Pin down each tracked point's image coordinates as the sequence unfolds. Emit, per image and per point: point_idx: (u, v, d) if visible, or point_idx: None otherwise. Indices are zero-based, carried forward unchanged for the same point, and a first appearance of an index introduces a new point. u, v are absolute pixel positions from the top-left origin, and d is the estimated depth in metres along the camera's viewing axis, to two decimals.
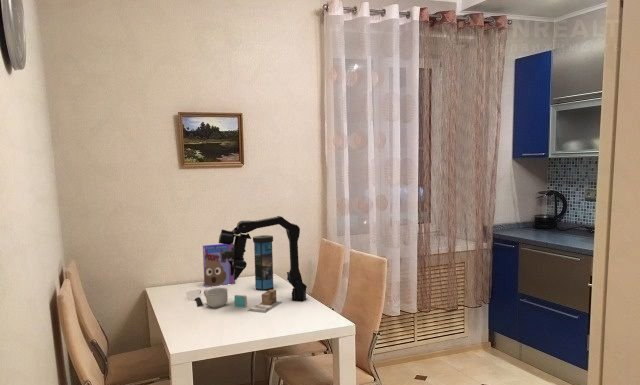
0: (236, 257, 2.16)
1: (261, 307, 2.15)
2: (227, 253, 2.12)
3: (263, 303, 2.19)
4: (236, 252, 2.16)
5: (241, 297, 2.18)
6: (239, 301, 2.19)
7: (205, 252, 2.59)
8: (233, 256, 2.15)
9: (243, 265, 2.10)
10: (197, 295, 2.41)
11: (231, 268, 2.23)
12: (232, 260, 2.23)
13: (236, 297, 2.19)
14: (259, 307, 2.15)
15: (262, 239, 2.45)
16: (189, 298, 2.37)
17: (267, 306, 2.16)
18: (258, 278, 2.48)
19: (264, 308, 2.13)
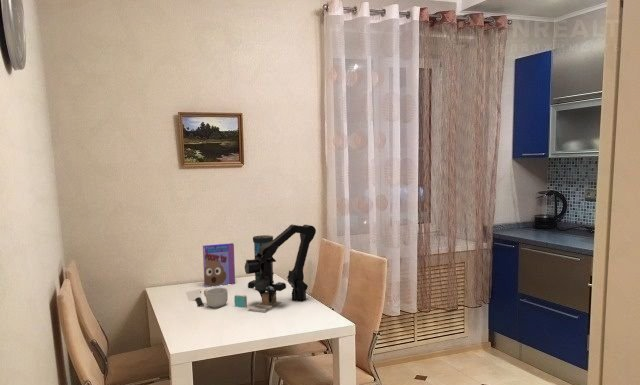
0: (270, 282, 2.18)
1: (261, 307, 2.15)
2: (268, 282, 2.13)
3: (263, 303, 2.19)
4: (269, 278, 2.18)
5: (241, 297, 2.18)
6: (239, 301, 2.19)
7: (205, 252, 2.59)
8: None
9: (285, 286, 2.18)
10: (197, 295, 2.41)
11: None
12: None
13: (236, 297, 2.19)
14: (259, 307, 2.15)
15: (262, 239, 2.45)
16: (189, 298, 2.37)
17: (267, 306, 2.16)
18: (258, 278, 2.48)
19: (264, 308, 2.13)
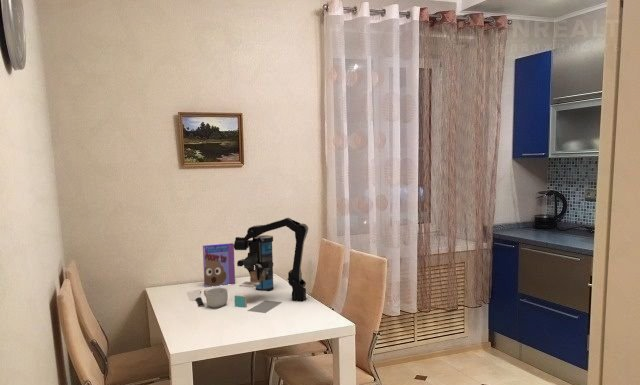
0: (258, 260, 2.30)
1: (250, 283, 2.27)
2: (256, 259, 2.25)
3: (251, 280, 2.30)
4: (257, 256, 2.30)
5: (241, 297, 2.18)
6: (239, 301, 2.19)
7: (205, 252, 2.59)
8: None
9: (272, 264, 2.30)
10: (197, 295, 2.41)
11: None
12: None
13: (236, 297, 2.19)
14: (248, 283, 2.27)
15: None
16: (190, 298, 2.37)
17: (255, 283, 2.28)
18: None
19: (252, 284, 2.25)
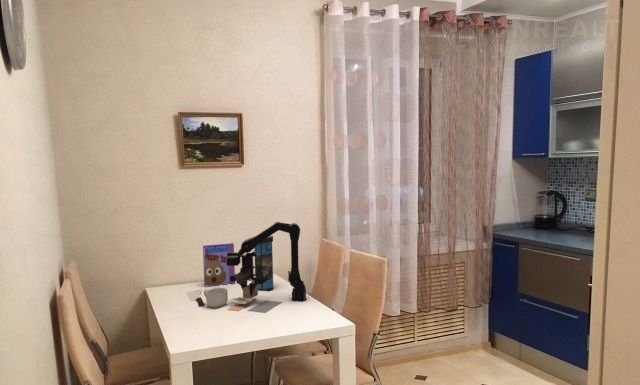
0: (251, 276, 2.24)
1: (242, 299, 2.21)
2: (248, 275, 2.19)
3: (244, 296, 2.24)
4: (250, 271, 2.23)
5: None
6: None
7: (205, 252, 2.59)
8: (250, 276, 2.22)
9: (265, 280, 2.24)
10: (198, 295, 2.41)
11: None
12: None
13: None
14: (240, 299, 2.21)
15: None
16: (190, 298, 2.37)
17: (248, 299, 2.21)
18: None
19: (245, 301, 2.18)
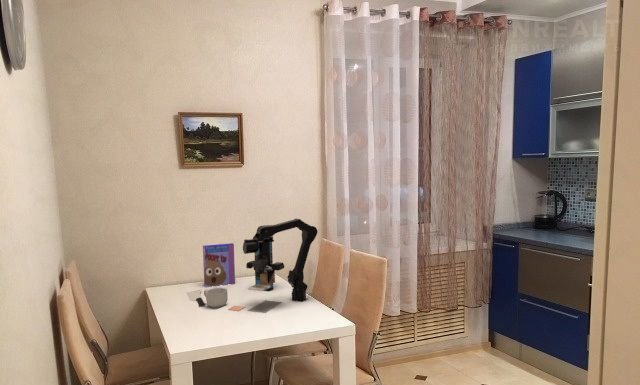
0: (268, 262, 2.18)
1: (259, 286, 2.15)
2: (266, 261, 2.13)
3: (261, 283, 2.19)
4: (267, 257, 2.18)
5: None
6: None
7: (205, 252, 2.59)
8: None
9: (283, 266, 2.18)
10: (198, 295, 2.40)
11: None
12: None
13: None
14: (257, 286, 2.15)
15: None
16: (190, 298, 2.37)
17: (265, 286, 2.16)
18: (258, 278, 2.48)
19: (262, 287, 2.13)
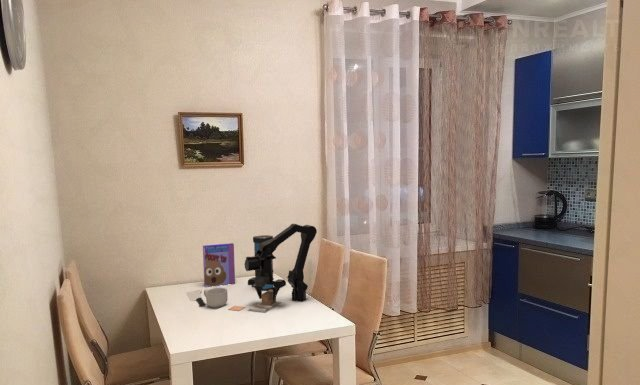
0: (270, 279, 2.18)
1: (261, 307, 2.15)
2: (268, 279, 2.13)
3: (263, 303, 2.19)
4: (269, 275, 2.18)
5: None
6: None
7: (205, 252, 2.59)
8: None
9: (285, 283, 2.18)
10: (198, 295, 2.40)
11: (259, 292, 2.21)
12: None
13: None
14: (259, 307, 2.15)
15: (262, 239, 2.45)
16: (190, 298, 2.37)
17: (267, 306, 2.16)
18: None
19: (264, 308, 2.13)
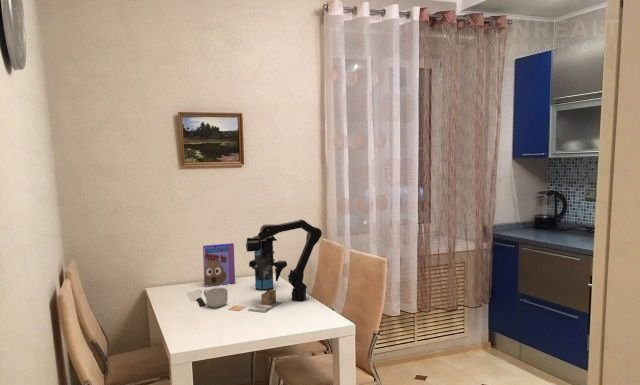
0: (271, 260, 2.22)
1: (261, 307, 2.15)
2: (269, 259, 2.16)
3: (263, 303, 2.19)
4: (270, 256, 2.21)
5: None
6: None
7: (205, 252, 2.59)
8: (270, 260, 2.20)
9: (286, 264, 2.22)
10: (198, 295, 2.40)
11: (259, 274, 2.25)
12: None
13: None
14: (259, 307, 2.15)
15: None
16: (190, 298, 2.36)
17: (267, 306, 2.16)
18: (258, 278, 2.48)
19: (264, 308, 2.13)
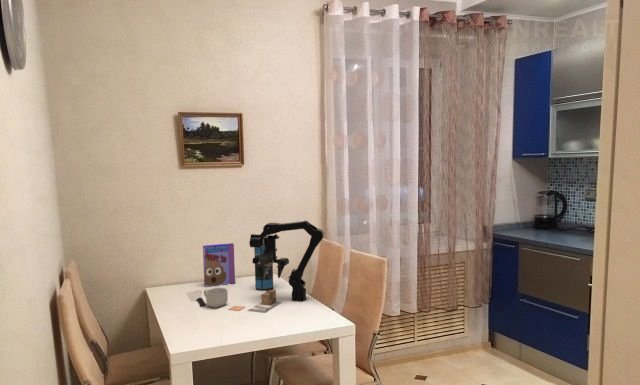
0: (274, 257, 2.28)
1: (261, 307, 2.15)
2: (272, 256, 2.23)
3: (263, 303, 2.19)
4: (273, 253, 2.28)
5: None
6: None
7: (205, 252, 2.59)
8: (273, 257, 2.27)
9: (288, 262, 2.28)
10: (198, 295, 2.40)
11: (262, 270, 2.32)
12: None
13: None
14: (259, 307, 2.15)
15: None
16: (190, 298, 2.36)
17: (267, 306, 2.16)
18: (258, 278, 2.48)
19: (264, 308, 2.13)
